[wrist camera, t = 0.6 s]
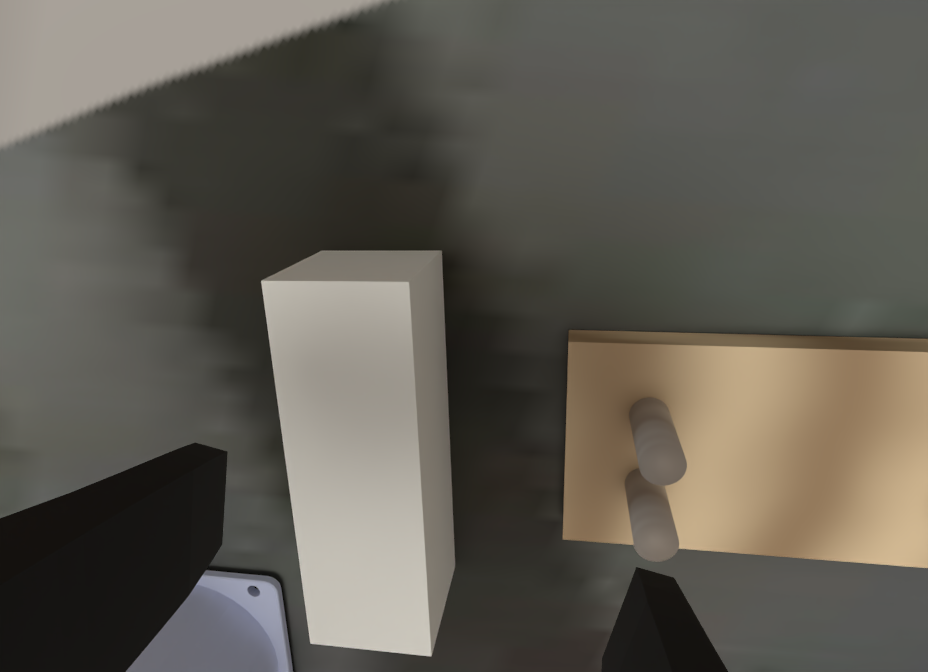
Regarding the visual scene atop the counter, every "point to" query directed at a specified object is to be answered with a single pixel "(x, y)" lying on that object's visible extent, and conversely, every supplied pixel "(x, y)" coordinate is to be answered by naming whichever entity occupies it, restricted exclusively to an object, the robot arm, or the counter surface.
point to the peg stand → (748, 445)
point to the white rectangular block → (366, 442)
